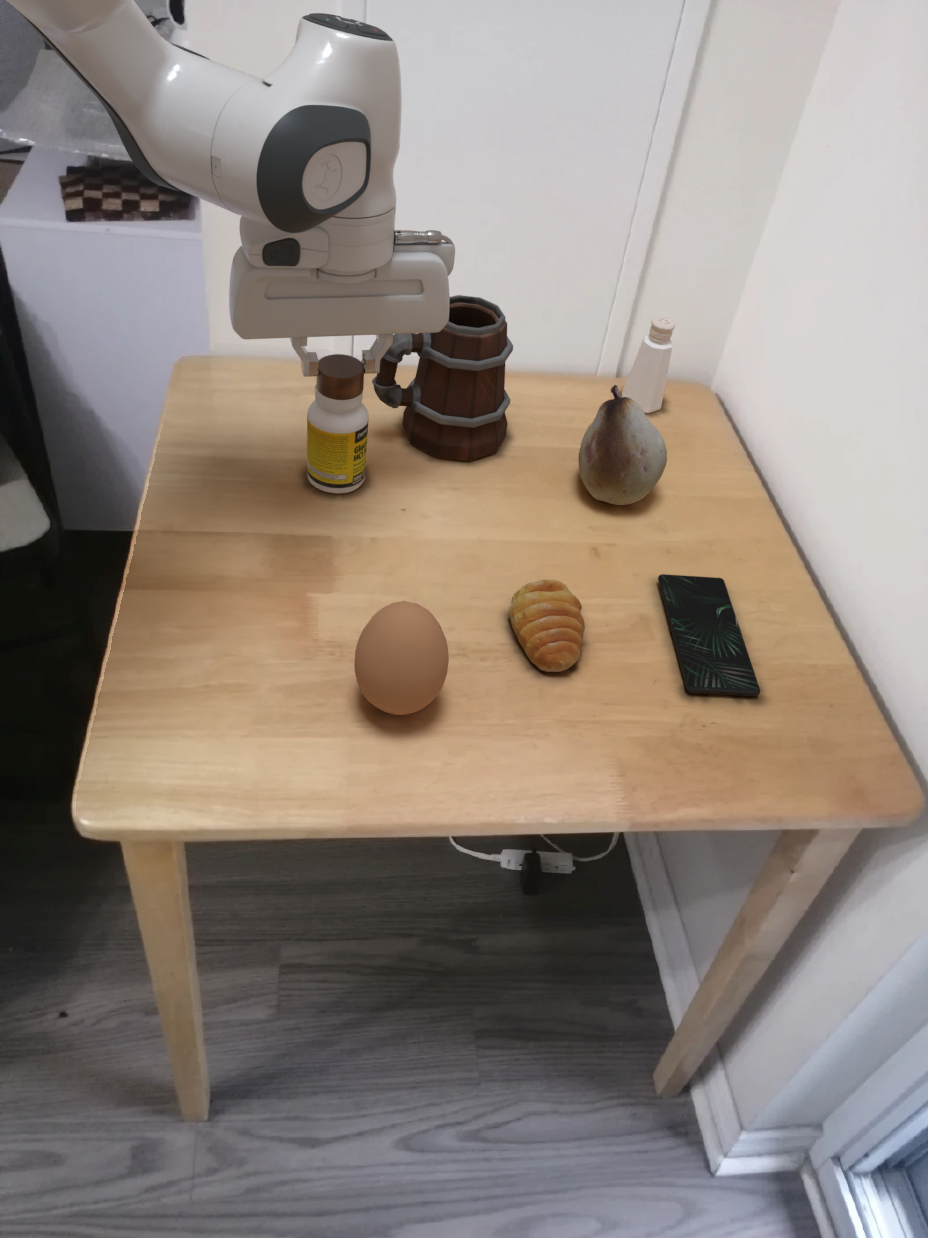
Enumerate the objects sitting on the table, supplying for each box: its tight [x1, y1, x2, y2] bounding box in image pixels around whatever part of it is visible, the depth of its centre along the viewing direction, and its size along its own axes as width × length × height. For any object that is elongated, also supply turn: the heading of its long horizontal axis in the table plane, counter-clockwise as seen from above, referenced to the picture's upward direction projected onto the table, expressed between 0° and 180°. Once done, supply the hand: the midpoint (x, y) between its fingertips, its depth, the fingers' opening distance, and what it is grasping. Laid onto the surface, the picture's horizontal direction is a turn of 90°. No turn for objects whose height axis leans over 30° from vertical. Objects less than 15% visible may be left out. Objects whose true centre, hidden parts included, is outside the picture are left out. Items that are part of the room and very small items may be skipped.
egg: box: [353, 600, 450, 716], centre depth 76 cm, size 8×8×11 cm
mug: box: [371, 294, 514, 462], centre depth 103 cm, size 16×12×15 cm
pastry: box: [508, 579, 586, 673], centre depth 85 cm, size 9×7×4 cm
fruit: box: [578, 384, 668, 506], centre depth 100 cm, size 10×9×12 cm
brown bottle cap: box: [315, 353, 365, 400], centre depth 92 cm, size 5×5×2 cm
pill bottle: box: [306, 385, 370, 495], centre depth 96 cm, size 6×6×11 cm
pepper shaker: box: [621, 316, 676, 414], centre depth 115 cm, size 5×5×11 cm
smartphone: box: [657, 573, 761, 697], centre depth 89 cm, size 7×1×15 cm
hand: (340, 372), depth 91 cm, fingers closed on brown bottle cap, 4 cm apart
